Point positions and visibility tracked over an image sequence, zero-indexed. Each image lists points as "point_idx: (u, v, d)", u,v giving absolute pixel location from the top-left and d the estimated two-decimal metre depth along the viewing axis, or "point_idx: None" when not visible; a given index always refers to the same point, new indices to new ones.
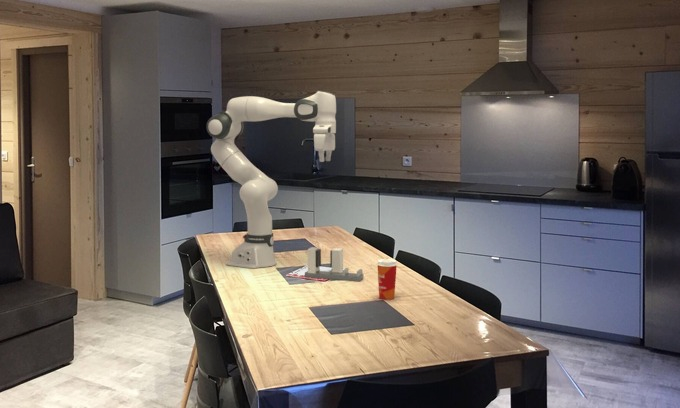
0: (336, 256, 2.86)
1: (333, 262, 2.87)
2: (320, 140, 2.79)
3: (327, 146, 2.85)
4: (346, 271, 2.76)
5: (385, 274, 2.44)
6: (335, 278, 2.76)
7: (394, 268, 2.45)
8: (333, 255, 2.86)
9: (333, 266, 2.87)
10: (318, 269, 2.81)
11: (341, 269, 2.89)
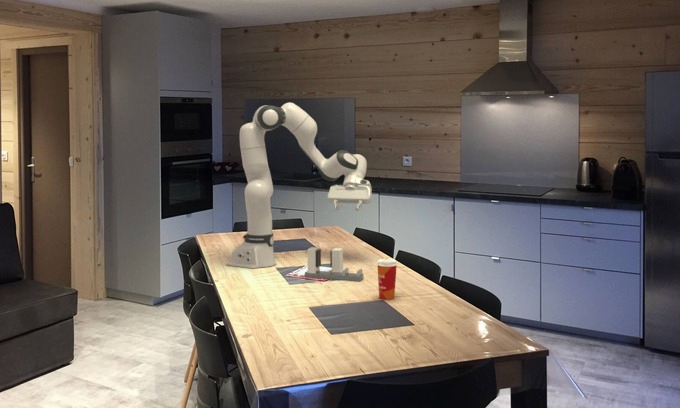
0: (336, 256, 2.86)
1: (333, 262, 2.87)
2: (371, 194, 3.01)
3: None
4: (346, 271, 2.76)
5: (385, 274, 2.44)
6: (335, 278, 2.76)
7: (394, 268, 2.45)
8: (333, 255, 2.86)
9: (333, 266, 2.87)
10: (318, 269, 2.81)
11: (341, 269, 2.89)
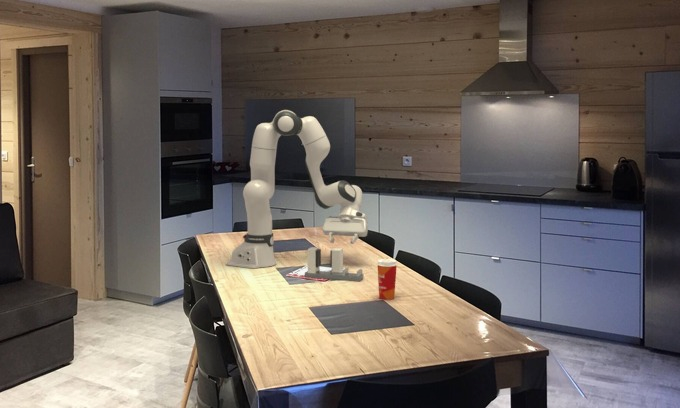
0: (336, 256, 2.86)
1: (333, 262, 2.87)
2: (367, 227, 2.98)
3: None
4: (346, 271, 2.76)
5: (385, 274, 2.44)
6: (335, 278, 2.76)
7: (394, 268, 2.45)
8: (333, 255, 2.86)
9: (333, 266, 2.87)
10: (318, 269, 2.81)
11: (341, 269, 2.89)
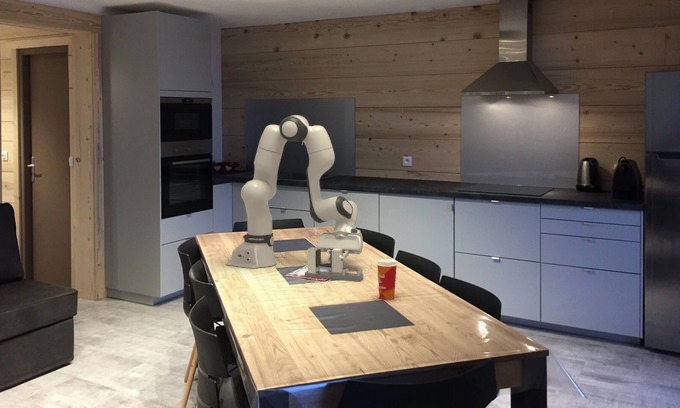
0: (336, 256, 2.86)
1: (333, 262, 2.87)
2: (362, 244, 2.91)
3: None
4: (346, 271, 2.76)
5: (385, 274, 2.44)
6: (335, 278, 2.76)
7: (394, 268, 2.45)
8: (333, 255, 2.86)
9: (333, 266, 2.87)
10: (318, 269, 2.81)
11: (341, 269, 2.89)
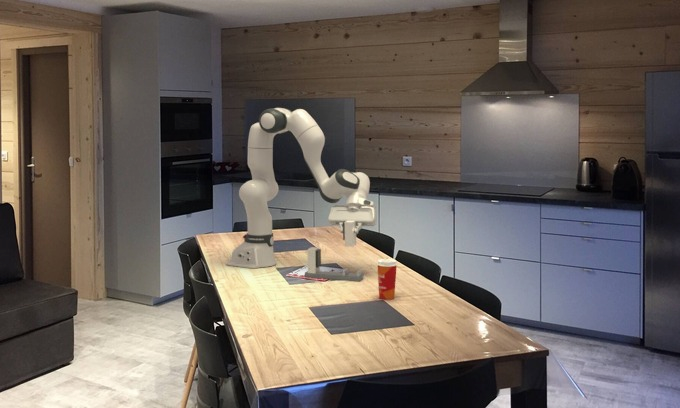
0: (349, 228, 2.74)
1: (346, 235, 2.75)
2: (375, 216, 2.79)
3: None
4: (346, 271, 2.76)
5: (385, 274, 2.44)
6: (335, 278, 2.76)
7: (394, 268, 2.45)
8: (346, 227, 2.74)
9: (346, 239, 2.75)
10: (318, 269, 2.81)
11: (354, 242, 2.77)
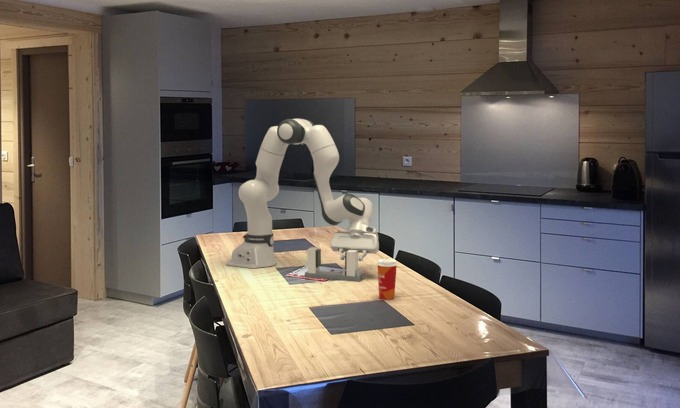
0: (351, 258, 2.72)
1: (348, 264, 2.73)
2: (378, 243, 2.77)
3: None
4: (346, 271, 2.76)
5: (385, 274, 2.44)
6: (335, 278, 2.76)
7: (394, 268, 2.45)
8: (348, 257, 2.73)
9: (348, 268, 2.73)
10: (318, 269, 2.81)
11: (356, 272, 2.75)
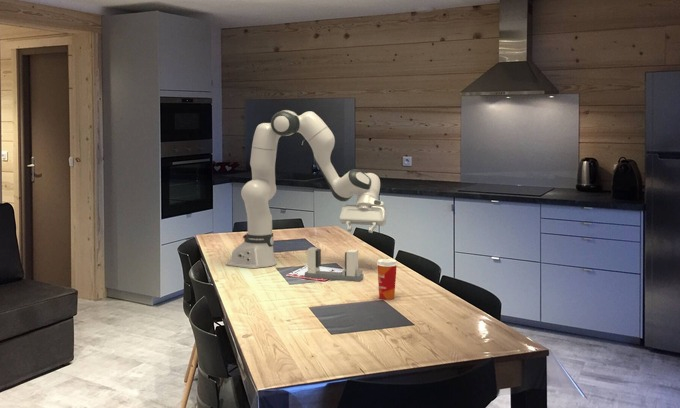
0: (351, 258, 2.72)
1: (348, 264, 2.73)
2: (385, 216, 2.88)
3: None
4: (346, 271, 2.76)
5: (385, 274, 2.44)
6: (335, 278, 2.76)
7: (394, 268, 2.45)
8: (348, 257, 2.73)
9: (348, 268, 2.73)
10: (318, 269, 2.81)
11: (356, 272, 2.75)
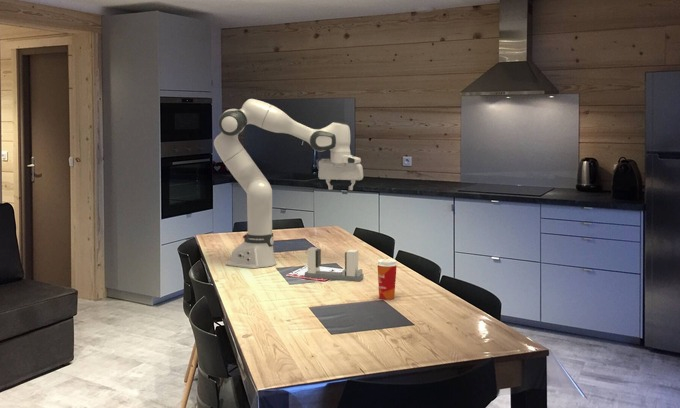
0: (351, 258, 2.72)
1: (348, 264, 2.73)
2: (362, 169, 2.96)
3: None
4: (346, 271, 2.76)
5: (385, 274, 2.44)
6: (335, 278, 2.76)
7: (394, 268, 2.45)
8: (348, 257, 2.73)
9: (348, 268, 2.73)
10: (318, 269, 2.81)
11: (356, 272, 2.75)
